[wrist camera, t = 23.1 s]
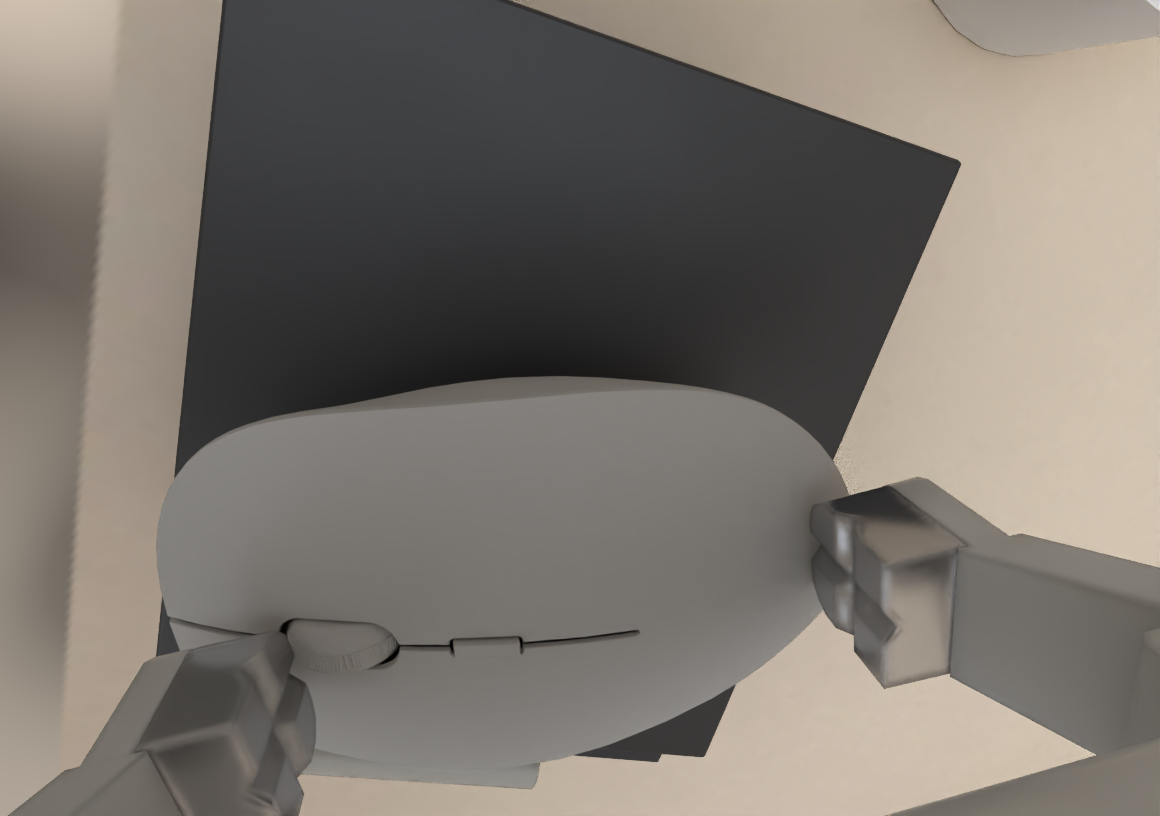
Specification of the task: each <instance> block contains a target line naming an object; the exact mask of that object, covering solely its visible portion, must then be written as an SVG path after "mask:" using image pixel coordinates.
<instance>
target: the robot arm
mask: <svg viewBox="0 0 1160 816" xmlns="http://www.w3.org/2000/svg"><path fill="white" fill-rule="evenodd" d="M810 532H811V534H812V535H813V536H814V537H815V538H816V539H817V540H818V541H819V543H820V546H819V548H818V549H817V551H816V553H815V554H814V556H813V557H812V559H811V566H812V579H813V584H814V587H815V590H816V594H817V597H818V600H819V602H820V604H821V606H822V608H823V610H824V612H825V614H826V615H827V617H828V618H829V619H830V621H831V622H832V623H833V625H834V626H835V627H836V628H838V629H840V630H842V631H845V632H847V633H849V634H852V635H854V651H855V653H856V654H857V655H858V656H859V658H860V659H861V660H862V661H863V663H864V664H865V665H866V666H867V668H868V669H869V670H870V671H871V673H872V674H873V675H874V676H875V678H876V679H877V680H878V681H879V683H880V684H881V685H882V686H883V688H884V689H885V688H890V687H894V686H898V685H902V684H907V683H911V682H915V681H920V680H924V679H928V678H932V677H937V676H941V675H945V674H949V673H950V677H952V678H954V679H955V680H957V681H959V682H961V683H963V684H965V685H967V686H969V687H970V688H972V689H974V690H976V691H978V692H980V693H982V694H984V695H985V696H987V697H989V698H991V699H993V700H995V701H997V702H999V703H1000V704H1002V705H1004V706H1006V707H1008V708H1010V709H1012V710H1014V711H1015V712H1017V713H1019V714H1021V715H1023V716H1025V717H1027V718H1029V719H1030V720H1032V721H1034V722H1036V723H1038V724H1040V725H1042V726H1044V727H1045V728H1047V729H1049V730H1051V731H1053V732H1055V733H1057V734H1059V735H1060V736H1062V737H1064V738H1066V739H1068V740H1070V741H1072V742H1074V743H1075V744H1077V745H1079V746H1081V747H1083V748H1085V749H1087V750H1089V751H1090V752H1092V753H1094V754H1096V755H1097V756H1093V757H1089V758H1086V759H1082V760H1079V761H1075V762H1072V763H1068V764H1065V765H1061V766H1058V767H1054V768H1051V769H1047V770H1044V771H1040V772H1037V773H1033V774H1030V775H1026V776H1023V777H1019V778H1016V779H1012V780H1009V781H1005V782H1002V783H998V784H995V785H991V786H988V787H984V788H981V789H977V790H973V791H970V792H966V793H963V794H959V795H956V796H952V797H949V798H945V799H942V800H938V801H935V802H931V803H928V804H924V805H921V806H917V807H914V808H910V809H907V810H903V811H899V812H896V813H892V814H889V815H885V816H1160V568H1158V567H1154V566H1150V565H1146V564H1142V563H1138V562H1134V561H1130V560H1126V559H1122V558H1118V557H1114V556H1110V555H1106V554H1102V553H1098V552H1094V551H1090V550H1086V549H1082V548H1078V547H1074V546H1069V545H1065V544H1061V543H1057V542H1053V541H1049V540H1045V539H1041V538H1037V537H1033V536H1029V535H1025V534H1017V535H1013V536H1008V535H1007V534H1006V533H1004V532H1003V531H1001V530H1000V529H998V528H997V527H996V526H994V525H993V524H991V523H990V522H988V521H987V520H986V519H984V518H983V517H981V516H980V515H978V514H977V513H976V512H974V511H973V510H971V509H970V508H968V507H967V506H966V505H964V504H963V503H961V502H960V501H958V500H957V499H956V498H954V497H953V496H951V495H950V494H948V493H947V492H946V491H944V490H943V489H941V488H940V487H938V486H937V485H936V484H934V483H933V482H931V481H930V480H928V479H925V478H920V477H915V478H911V479H908V480H904V481H900V482H897V483H893V484H889V485H885V486H883V487H881V488H877V489H873V490H869V491H865V492H861V493H857V494H853V495H849V496H845V497H841V498H837V499H833V500H830V501H826V502H822V503H818V504H814V505H812V509H811V512H810ZM294 656H295V655H294V653H293V650H292V648H291V646H290V644H289V642H288V640H287V637H286V635H285V634H283V633H281V632H279V631H277V630H275V631H270V632H266V633H261V634H256V635H252V636H247V637H242V638H238V639H233V640H228V641H224V642H219V643H214V644H210V645H205V646H200V647H197V648H195V649H186V650H182V651H178V652H174V653H170V654H166V655H161V656H157V657H154V658H152V659H151V660H149V661H147V662H145V663H144V664H143V665H142V667H141V668H140V670H139V672H138V673H137V675H136V677H135V678H134V680H133V681H132V683H131V685H130V686H129V688H128V690H127V691H126V693H125V694H124V696H123V698H122V699H121V701H120V703H119V704H118V706H117V707H116V709H115V711H114V712H113V714H112V716H111V717H110V719H109V720H108V722H107V724H106V725H105V727H104V728H103V730H102V732H101V733H100V735H99V737H98V738H97V740H96V741H95V743H94V745H93V746H92V748H91V750H90V751H89V753H88V754H87V756H86V758H85V759H84V761H83V763H82V764H81V766H80V767H76V768H72V769H68V770H65V771H64V772H62V773H61V774H60V775H59V776H57V777H56V778H55V779H54V780H52V781H51V782H50V783H49V784H47V785H46V786H45V787H43V788H42V789H41V790H40V791H38V792H37V793H36V794H35V795H34V796H32V797H31V798H30V799H28V800H27V801H26V802H25V803H23V804H22V805H21V806H20V807H18V808H17V809H16V810H14V811H13V812H12V813H11V814H9V815H8V816H299V812H300V808H301V804H302V800H303V795H304V793H303V790H302V788H301V786H300V784H299V781H298V779H297V777H298V776H299V775H300V774H301V773H302V772H303V771H304V769H305V768H306V767H307V766H308V765H309V764H310V763H311V761H312V757H313V753H314V748H315V743H316V715H315V710H314V705H313V700H312V697H311V694H310V692H309V689H308V687H307V684H306V683H305V682H304V681H302V680H300V679H299V678H297V677H295V676H294V675H292V674H290V669H291V666H292V663H293V660H294Z"/></svg>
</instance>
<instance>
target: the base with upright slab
mask: <svg viewBox="0 0 1160 816" xmlns="http://www.w3.org/2000/svg"><path fill="white" fill-rule="evenodd" d="M933 1H934V2H935V3H936V5H937V6H938V7H939V9H940V10H941V11H942V13H943V14H944V15H945V17H946V18H947V19H948V21H949V22H950V23H951V25H952V26H953V27H954V29H955V30H956V31H958V32H959V33H961V34H962V35H964V36H965V37H967V38H968V39H970V40H971V41H972V42H974V43H975V44H977V45H978V46H980V47H981V48H983V49H986V50H990V51H994V52H998V53H1002V54H1006V55H1010V56H1014V57H1016V56H1028V55H1039V54H1050V53H1056V52H1063V51H1069V50H1076V49H1082V48H1089V47H1095V46H1102V45H1108V44H1115V43H1121V42H1128V41H1134V40H1141V39H1147V38H1154V37H1160V0H933Z"/></svg>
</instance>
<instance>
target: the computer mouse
mask: <svg viewBox="0 0 1160 816" xmlns="http://www.w3.org/2000/svg"><path fill="white" fill-rule="evenodd" d="M845 496H849V494H848V490H847V488H846V485H845V483H844V481H843V479H842V477H841V474H840V472H839V470H838V469H837V467H836V465H835V464H834V462H833V461H832V459H831V458H830V456H829V455H828V454H827V452H826V451H825V450H824V448H823V447H822V446H821V445H820V444H819V443H818V442H817V441H816V440H815V439H814V438H813V437H812V436H811V435H810V434H809V433H808V432H807V431H806V430H805V429H803V428H802V427H801V426H800V425H798V424H797V423H796V422H794V421H793V420H792V419H790V418H788V417H787V416H785V415H784V414H782V413H780V412H779V411H777V410H775V409H773V408H771V407H769V406H767V405H765V404H763V403H760V402H757V401H755V400H752V399H749V398H746V397H742V396H739V395H735V394H731V393H727V392H722V391H717V390H712V389H707V388H702V387H695V386H688V385H680V384H671V383H662V382H652V381H641V380H627V379H614V378H599V377H570V376H545V377H514V378H499V379H490V380H481V381H471V382H463V383H456V384H450V385H443V386H437V387H430V388H425V389H420V390H415V391H410V392H406V393H401V394H396V395H391V396H386V397H381V398H376V399H371V400H366V401H361V402H357V403H351V404H346V405H341V406H334V407H327V408H321V409H314V410H307V411H300V412H295V413H290V414H285V415H280V416H275V417H270V418H267V419H264V420H260V421H257V422H253V423H250V424H247V425H244V426H241V427H239V428H236V429H233V430H231V431H229V432H227V433H225V434H223V435H221V436H219V437H217V438H216V439H214V440H213V441H211V442H210V443H208V444H207V445H205V446H204V447H202V448H201V449H200V450H199V451H198V452H197V453H196V454H195V455H193V456H192V457H191V458H190V459H189V460H188V462H187V463H186V464H185V465H184V467H183V468H182V469H181V471H180V472H179V473H178V475H177V476H176V477H175V479H174V481H173V483H172V484H171V486H170V488H169V490H168V492H167V495H166V498H165V501H164V503H163V506H162V509H161V514H160V519H159V523H158V533H157V567H158V574H159V580H160V587H161V592H162V596H163V600H164V604H165V608H166V612H167V616H169V617H171V618H170V625H171V628H172V631H173V633H174V636H175V639H176V641H177V644H178V647H179V649H180V651H182V650H186V649H195V648H197V647H200V646H205V645H210V644H214V643H219V642H224V641H228V640H233V639H238V638H242V637H247V636H252V635H256V634H261V633H266V632H270V631H275V630H277V631H279V632H281V633H283V634H285V635H286V637H287V640H288V642H289V644H290V646H291V648H292V650H293V653H294V655H295V656H294V660H293V663H292V666H291V669H290V674H292V675H294V676H295V677H297V678H299V679H300V680H302V681H304V682H305V683H306V684H307V687H308V689H309V692H310V694H311V697H312V700H313V705H314V710H315V715H316V743H315V749H319V750H323V751H327V752H331V753H335V754H339V755H344V756H348V757H353V758H358V759H362V760H368V761H374V762H380V763H385V764H391V765H399V766H408V767H416V768H425V769H444V770H485V769H497V768H510V767H516V766H522V765H528V764H533V763H539V762H545V761H551V760H556V759H562V758H565V757H569V756H572V755H576V754H579V753H583V752H586V751H590V750H593V749H597V748H600V747H603V746H607V745H610V744H612V743H615V742H617V741H620V740H622V739H625V738H627V737H630V736H632V735H634V734H637V733H639V732H642V731H644V730H646V729H649V728H651V727H654V726H656V725H659V724H661V723H663V722H666V721H668V720H670V719H672V718H674V717H676V716H678V715H680V714H682V713H684V712H686V711H688V710H690V709H692V708H694V707H696V706H698V705H700V704H702V703H704V702H706V701H708V700H710V699H712V698H714V697H715V696H717V695H718V694H720V693H722V692H723V691H725V690H727V689H728V688H730V687H732V686H733V685H735V684H737V683H738V682H740V681H741V680H743V679H744V678H746V677H747V676H748V675H750V674H751V673H753V672H754V671H755V670H757V669H758V668H760V667H761V666H762V665H764V664H765V663H766V662H767V661H769V660H770V659H771V658H773V657H774V656H775V655H776V654H777V653H779V652H780V651H781V650H782V649H783V648H784V647H786V646H787V645H788V644H789V643H790V642H791V641H793V640H794V639H795V638H796V637H797V636H798V635H799V634H800V633H801V632H802V631H803V630H804V629H805V628H806V627H807V626H808V625H809V624H810V623H811V622H812V621H813V620H814V619H815V617H816V616H817V615H818V614H819V613H820V612H821V611H822V610H823V608H822V606H821V604H820V602H819V600H818V597H817V594H816V590H815V587H814V584H813V579H812V566H811V559H812V557H813V556H814V554H815V553H816V551H817V549H818V548H819V546H820V543H819V541H818V540H817V539H816V538H815V537H814V536H813V535H812V534H811V532H810V512H811V509H812V505H814V504H818V503H822V502H826V501H830V500H833V499H837V498H841V497H845Z"/></svg>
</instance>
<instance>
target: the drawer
mask: <svg viewBox="0 0 1160 816" xmlns="http://www.w3.org/2000/svg"><path fill="white" fill-rule="evenodd" d="M574 756H587V757H600V758H612V759H625V760H637V761H650V762H658V761H659V759H660V756H661V754H658V753H646V752H633V751H621V750H609V749H593V750H590V751H586V752H583V753H579V754H576V755H574ZM539 766H540V762H539V763H533V764H528V765H522V766H516V767H510V768H497V769H485V770H444V769H425V768H416V767H408V766H399V765H391V764H385V763H380V762H374V761H368V760H362V759H358V758H353V757H348V756H344V755H339V754H335V753H331V752H327V751H323V750H319V749H315V748H314V753H313V757H312V761H311V763H310V764H309V765H308V766H307V767H306V768H305V769H304V771H303V772H302V773H301V774H305V775H320V776H336V777H351V778H366V779H381V780H397V781H412V782H427V783H443V784H458V785H473V786H488V787H504V788H519V789H532V788H534V786H535V784H536V781H537V778H538V773H539Z"/></svg>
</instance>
